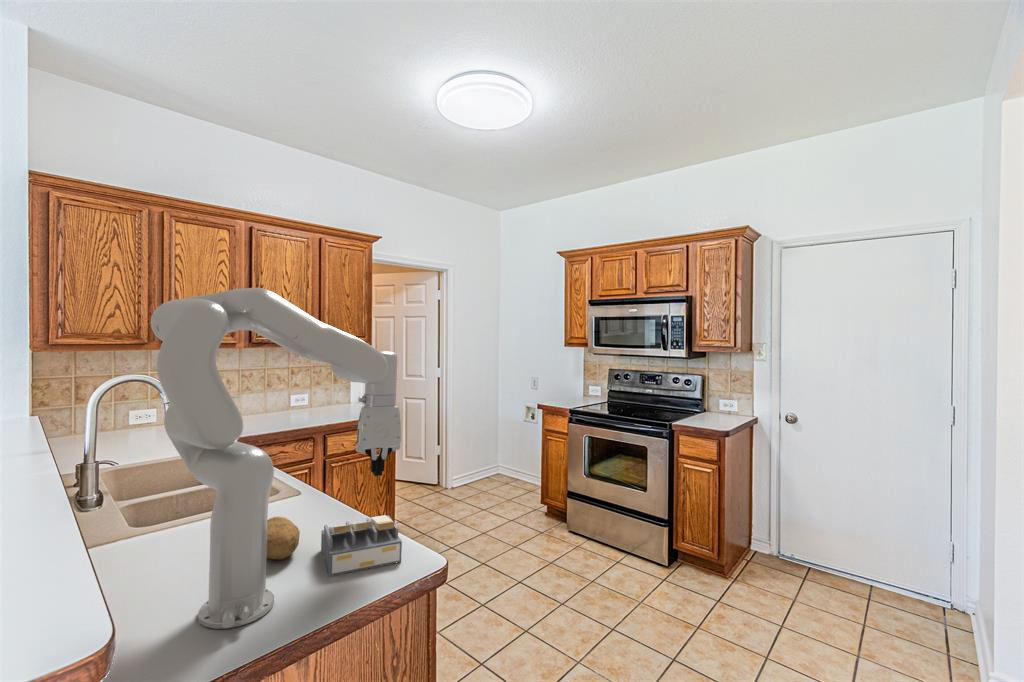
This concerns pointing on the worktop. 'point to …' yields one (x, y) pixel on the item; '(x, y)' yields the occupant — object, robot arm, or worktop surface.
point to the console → (360, 549)
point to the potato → (281, 538)
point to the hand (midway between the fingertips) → (377, 474)
